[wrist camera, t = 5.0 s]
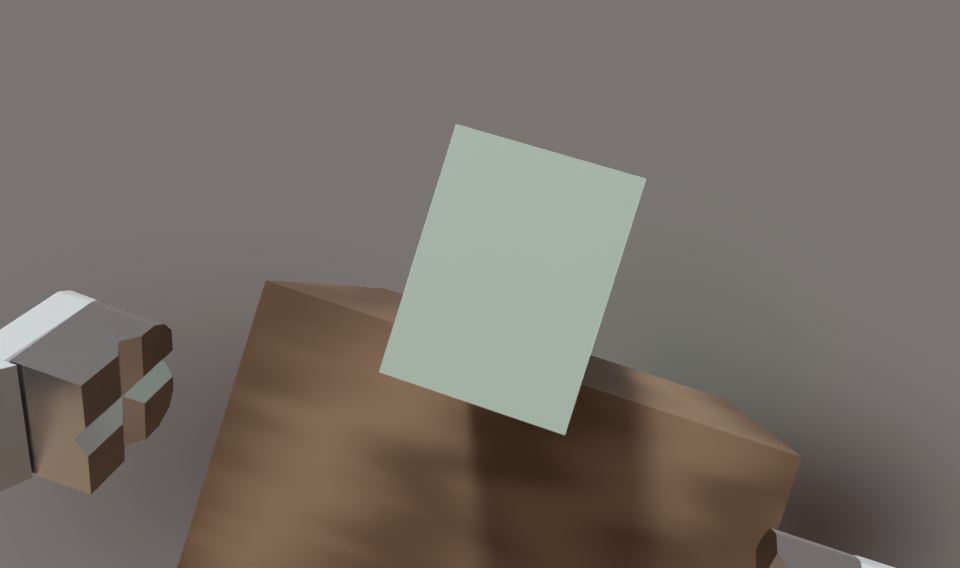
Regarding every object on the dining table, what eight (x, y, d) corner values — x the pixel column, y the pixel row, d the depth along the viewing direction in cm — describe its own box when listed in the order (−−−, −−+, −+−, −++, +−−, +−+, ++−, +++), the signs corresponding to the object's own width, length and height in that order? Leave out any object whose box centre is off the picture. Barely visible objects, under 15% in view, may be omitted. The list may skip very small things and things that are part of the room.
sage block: (585, 352, 33) (615, 257, 33) (565, 435, 12) (646, 178, 12) (515, 329, 33) (544, 236, 33) (379, 372, 13) (455, 123, 12)
